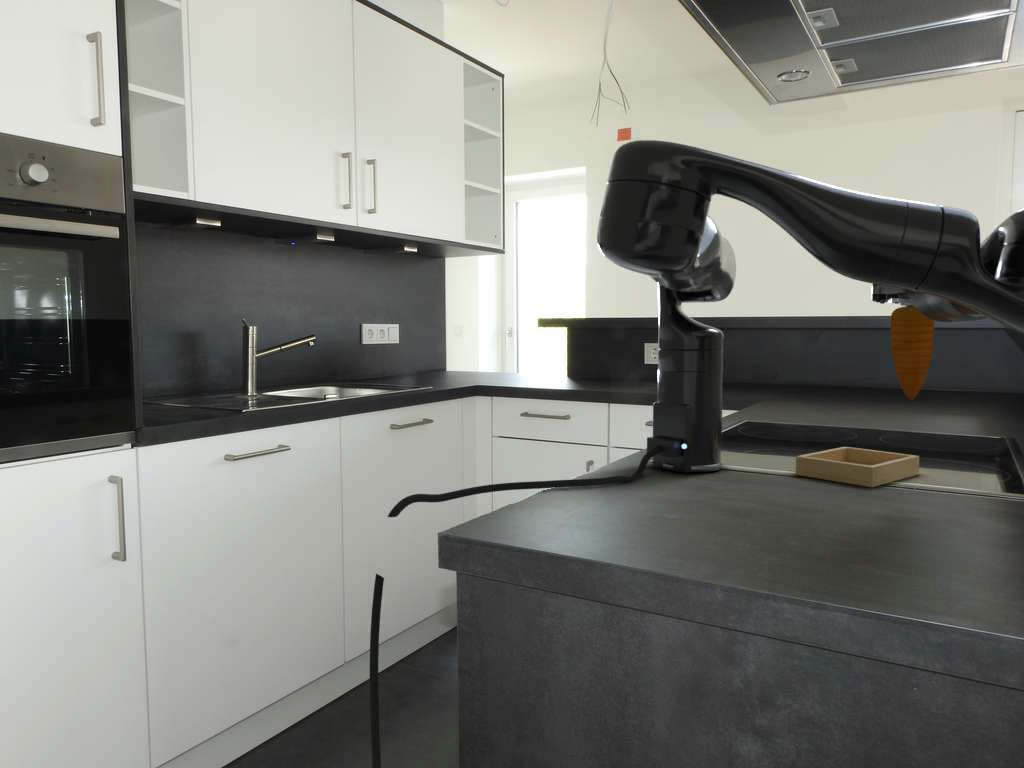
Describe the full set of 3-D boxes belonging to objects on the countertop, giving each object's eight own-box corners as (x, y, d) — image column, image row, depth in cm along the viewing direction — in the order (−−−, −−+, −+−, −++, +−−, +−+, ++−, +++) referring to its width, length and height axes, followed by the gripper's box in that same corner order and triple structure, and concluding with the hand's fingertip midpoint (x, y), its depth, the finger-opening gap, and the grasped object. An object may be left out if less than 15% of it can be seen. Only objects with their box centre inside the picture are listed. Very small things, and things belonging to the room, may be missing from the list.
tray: (872, 487, 92) (873, 467, 91) (795, 474, 100) (795, 456, 100) (918, 474, 100) (919, 455, 100) (844, 463, 108) (844, 446, 108)
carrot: (922, 397, 90) (924, 277, 89) (942, 401, 85) (944, 273, 84) (881, 398, 91) (882, 278, 90) (898, 401, 86) (900, 275, 85)
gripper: (887, 321, 75) (845, 324, 92) (1040, 321, 72) (968, 324, 89) (890, 248, 74) (847, 265, 91) (1044, 245, 71) (971, 263, 88)
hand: (907, 294), depth 90 cm, fingers closed on carrot, 3 cm apart
